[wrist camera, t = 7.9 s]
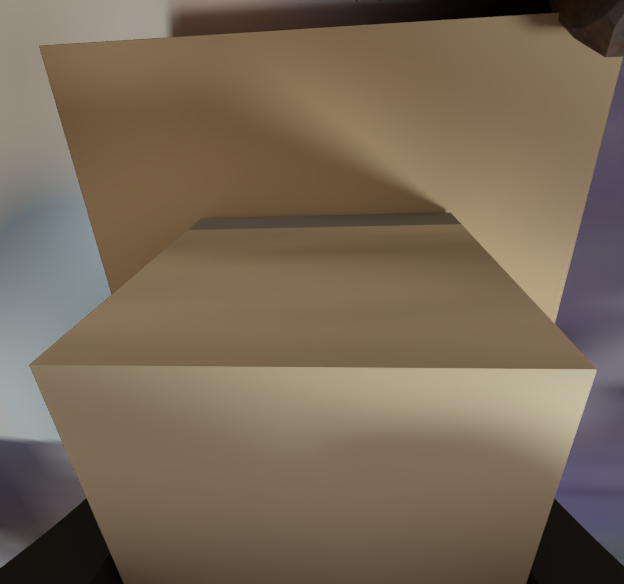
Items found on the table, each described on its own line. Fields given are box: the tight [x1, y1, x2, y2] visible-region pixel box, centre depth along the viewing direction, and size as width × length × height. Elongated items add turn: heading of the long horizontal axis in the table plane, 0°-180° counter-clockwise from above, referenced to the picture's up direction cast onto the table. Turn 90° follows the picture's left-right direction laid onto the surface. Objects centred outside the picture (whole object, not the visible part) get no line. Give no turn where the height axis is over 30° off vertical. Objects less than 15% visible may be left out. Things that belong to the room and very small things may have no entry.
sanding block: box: [29, 212, 597, 584], centre depth 8 cm, size 9×5×5 cm, turn 3°
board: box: [39, 13, 623, 324], centre depth 11 cm, size 16×10×1 cm, turn 3°
